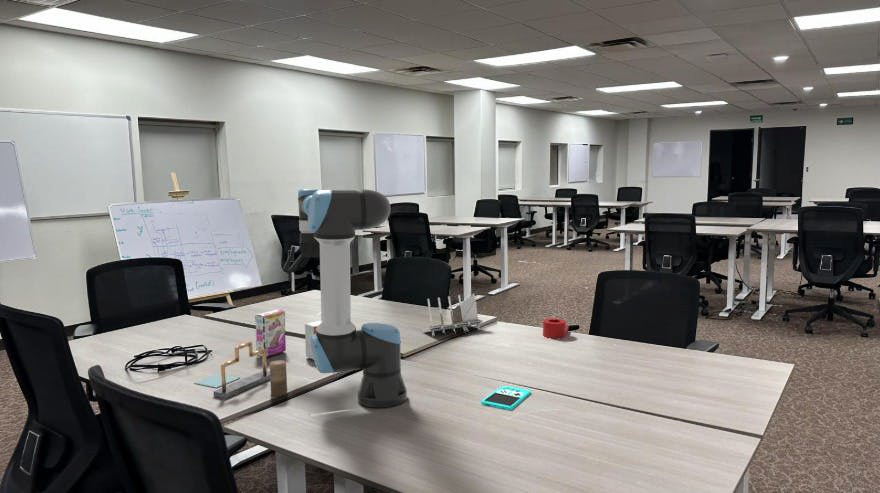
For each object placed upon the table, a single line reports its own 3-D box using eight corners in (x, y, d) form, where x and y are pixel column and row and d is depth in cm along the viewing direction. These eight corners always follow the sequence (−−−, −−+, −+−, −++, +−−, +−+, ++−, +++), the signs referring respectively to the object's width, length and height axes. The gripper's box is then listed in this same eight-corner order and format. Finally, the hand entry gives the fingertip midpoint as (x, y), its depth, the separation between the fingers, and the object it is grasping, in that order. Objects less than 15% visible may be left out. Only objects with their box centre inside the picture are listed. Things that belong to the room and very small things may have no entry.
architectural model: (491, 328, 255) (484, 286, 257) (440, 336, 243) (433, 292, 246) (471, 330, 270) (465, 291, 273) (422, 338, 258) (416, 296, 261)
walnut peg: (287, 395, 185) (286, 364, 184) (271, 397, 183) (270, 366, 182) (286, 389, 190) (285, 359, 189) (270, 391, 188) (269, 361, 187)
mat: (239, 378, 201) (239, 377, 201) (216, 388, 192) (216, 387, 192) (218, 374, 205) (218, 373, 205) (194, 383, 196) (194, 382, 196)
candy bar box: (265, 358, 223) (263, 316, 221) (256, 356, 225) (254, 314, 223) (287, 351, 232) (285, 310, 230) (277, 349, 235) (276, 308, 233)
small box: (314, 360, 220) (313, 326, 218) (305, 357, 224) (304, 323, 223) (332, 355, 225) (331, 322, 224) (323, 352, 230) (322, 319, 228)
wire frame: (274, 378, 201) (273, 336, 200) (225, 400, 182) (222, 354, 180) (263, 376, 204) (261, 335, 202) (213, 397, 184) (211, 352, 182)
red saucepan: (560, 340, 244) (560, 324, 243) (539, 337, 249) (539, 322, 248) (575, 330, 259) (576, 316, 258) (555, 328, 264) (555, 313, 263)
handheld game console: (531, 394, 185) (531, 390, 185) (511, 411, 172) (511, 407, 171) (502, 388, 190) (502, 384, 190) (480, 405, 177) (480, 400, 176)
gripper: (342, 229, 221) (344, 285, 223) (274, 232, 214) (276, 290, 216) (346, 231, 214) (347, 288, 216) (275, 234, 206) (277, 293, 209)
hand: (312, 289), depth 216 cm, fingers open, 13 cm apart
